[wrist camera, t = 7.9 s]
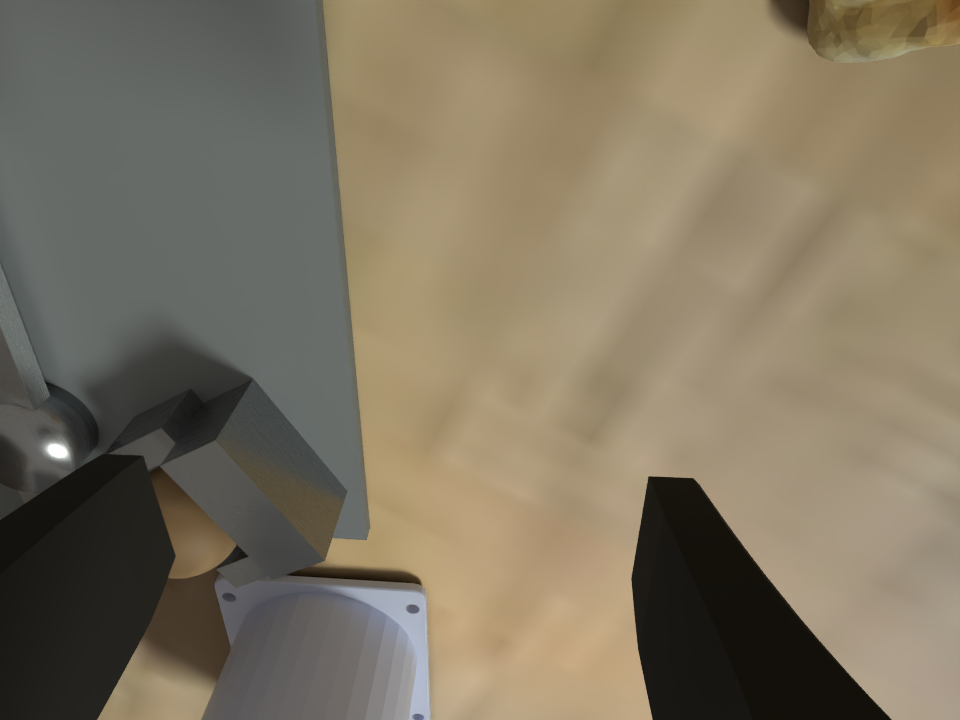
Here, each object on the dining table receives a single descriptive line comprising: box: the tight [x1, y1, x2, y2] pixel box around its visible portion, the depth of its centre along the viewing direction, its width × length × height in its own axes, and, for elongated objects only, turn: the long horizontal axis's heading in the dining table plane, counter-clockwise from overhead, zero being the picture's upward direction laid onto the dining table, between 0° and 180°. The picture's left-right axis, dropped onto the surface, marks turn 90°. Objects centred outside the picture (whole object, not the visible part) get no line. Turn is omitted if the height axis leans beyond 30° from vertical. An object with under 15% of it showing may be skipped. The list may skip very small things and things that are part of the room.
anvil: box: [104, 379, 347, 588], centre depth 21 cm, size 6×4×3 cm
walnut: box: [149, 466, 237, 579], centre depth 22 cm, size 4×4×4 cm
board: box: [0, 0, 370, 540], centre depth 20 cm, size 19×18×1 cm
